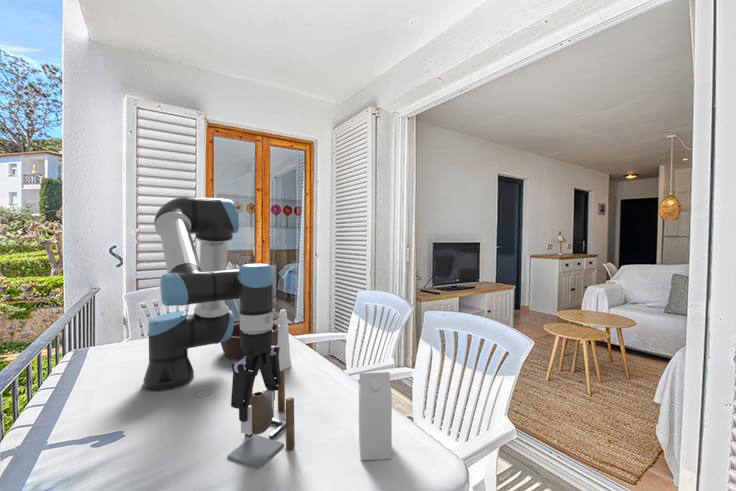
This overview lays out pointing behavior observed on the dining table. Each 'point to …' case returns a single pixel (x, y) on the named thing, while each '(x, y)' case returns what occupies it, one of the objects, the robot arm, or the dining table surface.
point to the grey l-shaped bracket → (281, 427)
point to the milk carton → (375, 416)
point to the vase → (260, 413)
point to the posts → (289, 412)
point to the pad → (255, 451)
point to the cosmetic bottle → (283, 341)
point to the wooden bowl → (233, 344)
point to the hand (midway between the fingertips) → (258, 424)
